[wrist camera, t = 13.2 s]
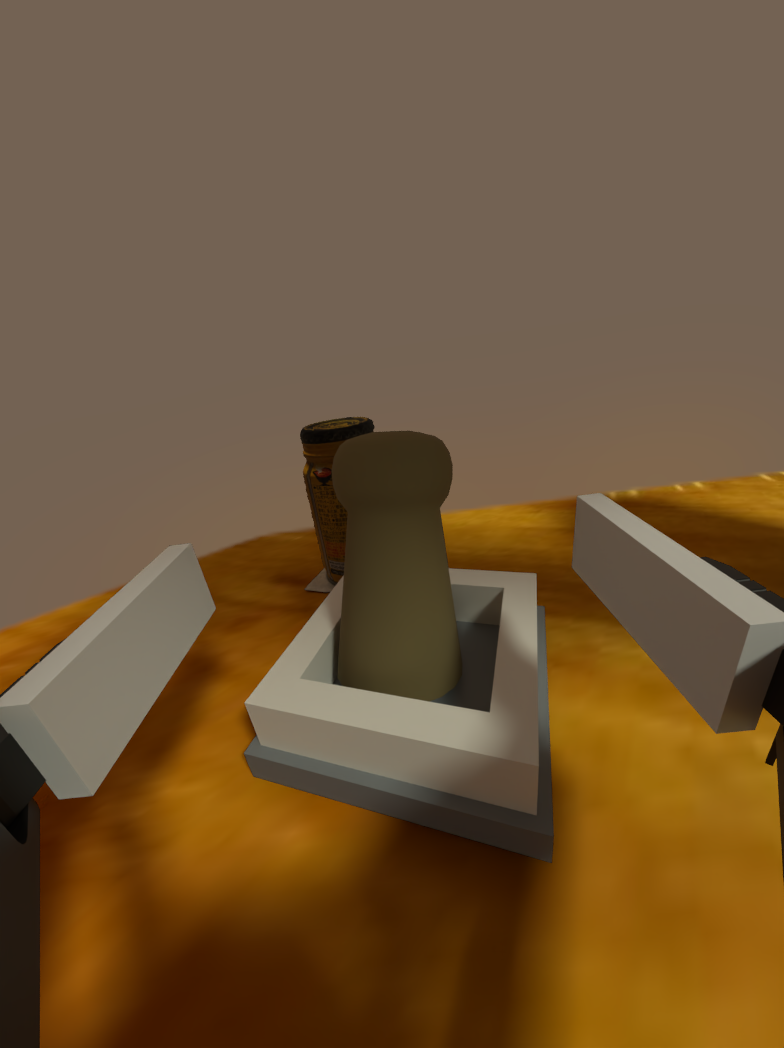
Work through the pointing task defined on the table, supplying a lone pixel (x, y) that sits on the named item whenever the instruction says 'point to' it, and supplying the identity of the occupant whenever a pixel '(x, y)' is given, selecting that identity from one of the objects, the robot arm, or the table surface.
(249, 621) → the table surface
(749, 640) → the robot arm
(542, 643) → the collar holder
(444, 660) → the cork
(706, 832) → the table surface
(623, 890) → the table surface
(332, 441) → the condiment
